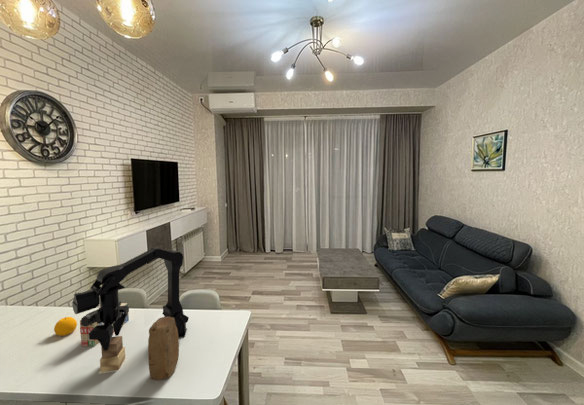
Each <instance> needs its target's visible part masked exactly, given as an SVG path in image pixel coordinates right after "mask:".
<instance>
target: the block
mask: <svg viewBox="0 0 584 405" xmlns="http://www.w3.org/2000/svg"><path fill="white" fill-rule="evenodd" d="M148 335H149V336H148V338H147V340H148V344H147V345H148V346H147V349H148V351H147V354H148V371H149V376H150V377H149V378H151V380H155V381H164V380H166V379H169V378H170V377H171V376H172V375H173V374H174V373H175V371H176V368H177V366H178V361H179V355H180V345H179V343H180V342H179V338H180V337H179V338H178V330H177V327H176V325H175V319H174V318H173V317H164V316H162V317H159V318H158V319H157V320H155V321H154V322H153V323H152V324H151V326H150V328H149V329H148Z"/></svg>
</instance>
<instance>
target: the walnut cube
mask: <svg viewBox="0 0 584 405" xmlns="http://www.w3.org/2000/svg"><path fill="white" fill-rule="evenodd" d="M123 345H124V342H123V335H118V336H112V339H111V342H110V345H109V348H108V350H106V351H104V350H103V348H102V346H101V345H100V346H101V348H100V349H101V357H102V358H108V357H116V356H118V354H119V353H120V351H121V350H122V348H123V347H124V346H123Z"/></svg>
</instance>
